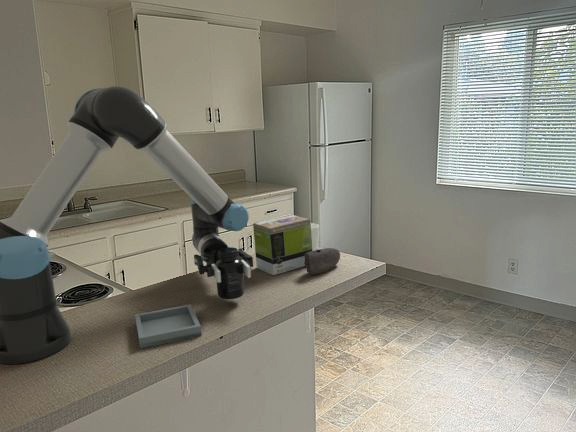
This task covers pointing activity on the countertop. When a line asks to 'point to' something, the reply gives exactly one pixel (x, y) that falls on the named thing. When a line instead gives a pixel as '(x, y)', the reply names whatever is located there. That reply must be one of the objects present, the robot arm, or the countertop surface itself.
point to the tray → (167, 326)
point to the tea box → (282, 243)
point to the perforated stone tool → (321, 260)
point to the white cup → (315, 236)
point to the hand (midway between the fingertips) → (234, 274)
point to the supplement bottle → (230, 274)
